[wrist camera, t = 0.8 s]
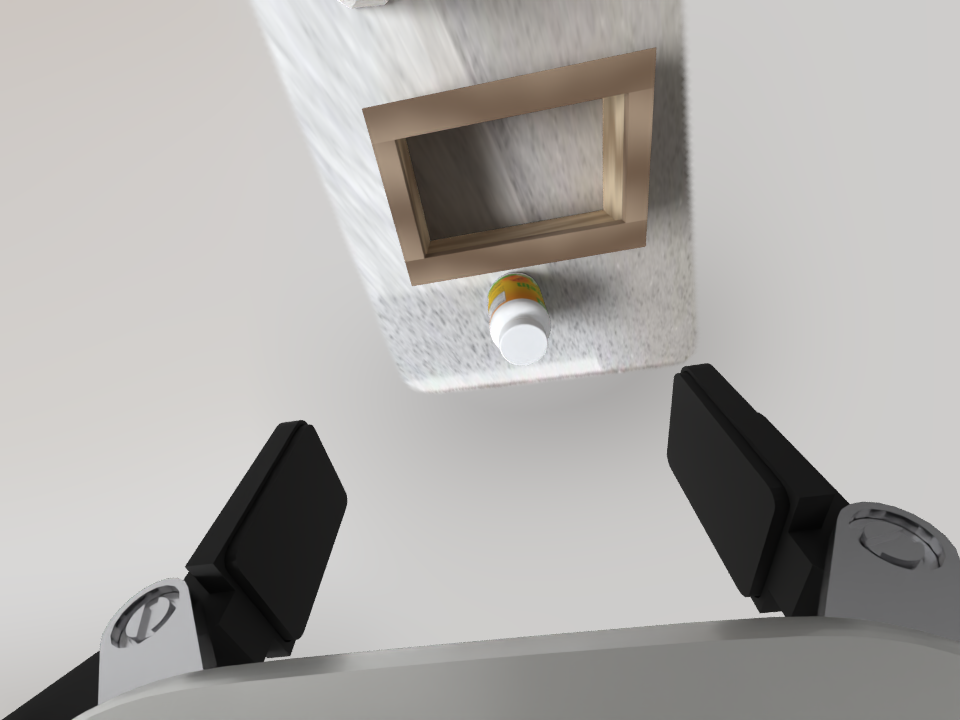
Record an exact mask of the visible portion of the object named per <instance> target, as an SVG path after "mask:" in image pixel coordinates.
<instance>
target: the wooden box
mask: <svg viewBox="0 0 960 720" xmlns="http://www.w3.org/2000/svg"><path fill="white" fill-rule="evenodd" d="M655 64H656V48H651V49H646V50H641V51H636V52H632V53H627V54H622V55H617V56H612V57H608V58H603V59H598V60H593V61H588V62H584V63H579V64H574V65H569V66H565V67H560V68H555V69H550V70H545V71H541V72H536V73H531V74H526V75H521V76H517V77H512V78H507V79H502V80H497V81H493V82H488V83H483V84H478V85H473V86H469V87H464V88H459V89H454V90H449V91H445V92H440V93H435V94H430V95H425V96H421V97H416V98H411V99H406V100H401V101H397V102H392V103H387V104H382V105H377V106H373V107H368V108H363V109H362V111H363V114H364V118H365V121H366V125H367V129H368V132H369V136H370V139H371V143H372V146H373V150H374V153H375V157H376V160H377V164H378V167H379V171H380V174H381V178H382V182H383V185H384V189H385V192H386V196H387V199H388V203H389V206H390V210H391V213H392V217H393V220H394V224H395V227H396V231H397V235H398V238H399V242H400V245H401V249H402V252H403V256H404V259H405V263H406V266H407V270H408V273H409V277H410V280H411V284H412V286H416V285H422V284H428V283H434V282H440V281H445V280H451V279H457V278H463V277H469V276H475V275H481V274H487V273H493V272H498V271H504V270H510V269H516V268H522V267H528V266H534V265H540V264H545V263H551V262H557V261H563V260H569V259H575V258H581V257H587V256H593V255H598V254H604V253H610V252H616V251H622V250H628V249H634V248H640V247H645V246H646V231H647V213H648V194H649V175H650V157H651V138H652V120H653V101H654V83H655ZM601 98H603V210H600V211H594V212H589V213H583V214H578V215H572V216H566V217H561V218H555V219H550V220H544V221H538V222H533V223H527V224H522V225H516V226H510V227H505V228H499V229H494V230H488V231H482V232H477V233H471V234H466V235H460V236H454V237H449V238H443V239H438V240H432V241H430V237H429V233H428V229H427V225H426V220H425V216H424V212H423V208H422V204H421V200H420V195H419V191H418V187H417V183H416V179H415V175H414V170H413V166H412V162H411V158H410V154H409V150H408V146H407V141H406V137H411V136H416V135H421V134H426V133H431V132H436V131H441V130H446V129H451V128H456V127H461V126H466V125H471V124H476V123H481V122H486V121H491V120H496V119H501V118H506V117H511V116H516V115H521V114H526V113H531V112H536V111H541V110H546V109H551V108H556V107H561V106H566V105H571V104H576V103H581V102H586V101H591V100H596V99H601Z"/></svg>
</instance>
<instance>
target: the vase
mask: <svg viewBox="0 0 960 720" xmlns="http://www.w3.org/2000/svg"><path fill="white" fill-rule="evenodd" d="M338 1H339V2H341V3H342V4H344V5H345V6H347V7H348V8H359V7H370V6H381V5H385V4H386V3H387V2H388V1H389V0H338Z"/></svg>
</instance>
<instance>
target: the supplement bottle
mask: <svg viewBox="0 0 960 720" xmlns="http://www.w3.org/2000/svg"><path fill="white" fill-rule="evenodd" d="M488 311H489V326H490V334H491V337H492V340H493V342H494V343H495V344H496V346H497V347H498V348H499V349H500V351H501V354H502V356H503V357H504V358H505V359H506V360H507V361H508V362H510V363H512V364H514V365H519V366H526V365H530V364H533V363H535V362H537V361H539V360H540V359H541V358H542V357H543V356H544V355H545V353H546V351H547V348H548V337H549V335H550V331H551V322H550V317H549V314H548V312H547V309H546V306H545V303H544V300H543V297H542V294H541V291H540V288H539V286H538V284H537V283H536V282H535V280H534V279H532V278H531V277H530V276H528V275H526V274H523V273H508V274H505V275H503V276H501V277H500V278H498V279H497V280H496V281H495V282H494V283H493V284H492V286H491V288H490V290H489V293H488Z"/></svg>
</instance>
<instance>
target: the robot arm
mask: <svg viewBox="0 0 960 720" xmlns="http://www.w3.org/2000/svg"><path fill="white" fill-rule="evenodd" d="M667 458H668V462H669V465H670V467H671V470H672V471H673V473H674V475H675V477H676V479H677V480H678V482H679V484H680V486H681V488H682V489H683V491H684V493H685V495H686V497H687V498H688V500H689V502H690V504H691V506H692V507H693V509H694V511H695V513H696V514H697V516H698V518H699V520H700V522H701V524H702V525H703V527H704V529H705V531H706V532H707V534H708V536H709V538H710V539H711V541H712V543H713V545H714V547H715V549H716V550H717V552H718V554H719V556H720V558H721V559H722V561H723V563H724V565H725V566H726V568H727V570H728V572H729V574H730V576H731V577H732V579H733V581H734V583H735V585H736V586H737V588H738V590H739V591H740V593H741V594H742V595H743V596H745V597H751V598H752V600H753V602H754V604H755V605H756V607H757V609H758V611H759V612H760V613H768V612H778V611H782V612H783V614H784V615H785V617H768V618H754V619H738V620H723V621H709V622H694V623H680V624H669V625H656V626H645V627H633V628H621V629H610V630H598V631H587V632H576V633H563V634H551V635H540V636H529V637H518V638H507V639H496V640H484V641H473V642H463V643H452V644H441V645H430V646H419V647H408V648H398V649H387V650H377V651H367V652H357V653H346V654H336V655H325V656H315V657H304V658H294V659H285V660H276V661H268V662H264V660H265V657H267V658H274V657H285V656H290V655H291V652H292V649H293V646H294V644H295V641H296V640H297V639H299V638H300V637H301V636H302V634H303V632H304V630H305V627H306V624H307V621H308V619H309V616H310V613H311V610H312V607H313V603H314V601H315V598H316V595H317V592H318V589H319V586H320V583H321V580H322V577H323V574H324V571H325V569H326V565H327V562H328V560H329V557H330V554H331V551H332V548H333V545H334V542H335V539H336V536H337V533H338V530H339V527H340V524H341V521H342V518H343V516H344V513H345V509H346V506H347V495H346V492H345V490H344V488H343V486H342V484H341V482H340V480H339V478H338V475H337V473H336V471H335V469H334V467H333V465H332V463H331V461H330V459H329V457H328V455H327V453H326V451H325V449H324V447H323V445H322V443H321V441H320V438H319V436H318V434H317V432H316V430H315V428H314V427H313V426H312V425H308V424H307V423H306V422H305V421H303V420H299V421H292V422H285V423H281V424H279V425H278V426H277V427H276V429H275V430H274V432H273V433H272V435H271V436H270V438H269V440H268V441H267V443H266V444H265V446H264V447H263V449H262V450H261V452H260V453H259V455H258V456H257V458H256V459H255V461H254V462H253V464H252V465H251V467H250V469H249V470H248V472H247V473H246V475H245V476H244V478H243V479H242V481H241V482H240V484H239V485H238V487H237V488H236V490H235V491H234V493H233V494H232V496H231V497H230V499H229V501H228V502H227V504H226V505H225V507H224V508H223V510H222V511H221V513H220V514H219V516H218V517H217V519H216V520H215V522H214V523H213V525H212V526H211V528H210V529H209V531H208V533H207V534H206V535H205V537H204V538H203V540H202V542H201V543H200V545H199V546H198V548H197V549H196V551H195V552H194V554H193V555H192V557H191V558H190V560H189V561H188V563H187V564H186V566H185V567H186V569H187V570H188V571H189V572H188V574H187V576H186V577H185V579H184V580H181V579H179V578H168V579H164V580H161V581H159V582H156V583H154V584H152V585H150V586H148V587H146V588H144V589H143V590H141V591H140V592H139V593H137V594H136V595H134V596H133V597H132V598H131V599H129V600H128V601H127V602H126V603H125V604H124V605H123V606H122V607H121V608H120V609H119V610H118V611H117V613H116V614H115V615H114V616H113V618H112V619H111V620H110V622H109V623H108V625H107V627H106V629H105V631H104V633H103V635H102V639H101V643H100V651H99V652H97V653H95V654H94V655H93V656H91V657H90V658H88V659H87V660H86V661H84V662H83V663H81V664H80V665H79V666H77V667H76V668H74V669H73V670H72V671H70V672H69V673H67V674H66V675H64V676H63V677H62V678H60V679H59V680H57V681H56V682H55V683H53V684H52V685H50V686H49V687H47V688H46V689H45V690H43V691H42V692H40V693H39V694H38V695H36V696H35V697H33V698H32V699H30V700H29V701H28V702H26V703H25V704H23V705H22V706H21V707H19V708H18V709H16V710H15V711H14V712H12V713H11V714H9V715H8V716H7V717H5V718H4V719H2V720H960V558H959V556H958V553H957V550H956V548H955V547H954V546H953V545H952V544H951V542H950V541H949V540H948V538H947V537H946V536H945V535H944V534H943V533H941V532H940V531H939V530H938V529H936V528H935V527H934V526H932V525H931V524H930V523H928V522H926V521H925V520H923V519H921V518H919V517H917V516H916V515H914V514H912V513H909V512H907V511H904V510H902V509H899V508H897V507H894V506H889V505H885V504H881V503H874V502H859V503H854V504H849V503H848V502H847V501H846V500H845V499H844V498H843V497H842V496H841V495H840V494H839V493H838V491H837V490H836V489H834V487H833V486H832V485H831V484H829V482H828V481H827V480H826V479H825V478H824V477H823V476H822V475H821V474H820V473H819V472H818V471H817V470H816V469H815V468H814V467H813V466H812V465H811V464H810V463H809V462H808V461H807V460H806V459H805V458H804V457H803V455H801V453H800V452H799V451H798V450H797V449H796V448H795V447H794V446H793V445H792V444H791V443H790V442H789V441H788V440H787V439H786V438H785V437H784V436H783V435H782V434H781V433H780V432H779V431H778V430H777V429H776V428H775V427H774V426H773V425H772V424H771V423H770V422H769V421H768V419H767V418H766V417H764V416H763V415H762V414H760V413H757V412H756V411H755V410H754V409H753V408H752V406H751V405H750V404H749V403H748V402H747V401H746V400H745V399H744V398H743V397H742V396H741V395H740V394H739V393H738V392H737V391H736V390H735V389H734V388H733V387H732V386H731V385H730V384H729V383H728V382H727V381H726V379H725V378H724V377H723V376H722V375H721V374H720V373H719V372H718V371H717V370H716V369H715V368H714V367H713V366H712V365H711V364H708V363H707V364H699V365H692V366H685V367H683V368H682V370H681V373H677V374H676V375H675V376H674V383H673V394H672V407H671V416H670V428H669V437H668V448H667Z"/></svg>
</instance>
